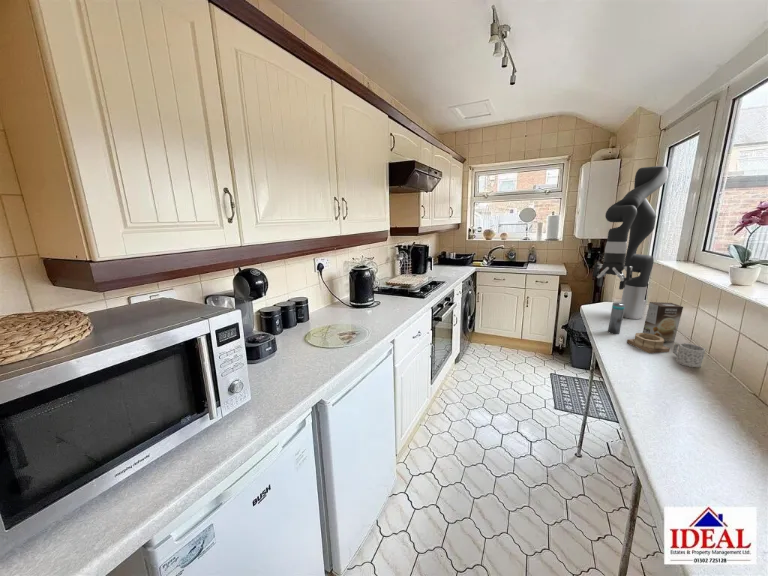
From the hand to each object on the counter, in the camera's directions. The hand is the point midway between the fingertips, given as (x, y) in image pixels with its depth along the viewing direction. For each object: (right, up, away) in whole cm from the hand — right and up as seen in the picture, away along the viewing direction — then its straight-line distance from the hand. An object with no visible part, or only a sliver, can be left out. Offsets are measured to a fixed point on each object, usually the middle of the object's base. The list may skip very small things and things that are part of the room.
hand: (610, 287), depth 135 cm
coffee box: (+19, -23, -3) cm, 30 cm away
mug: (+11, -28, -22) cm, 37 cm away
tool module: (+5, -21, +5) cm, 22 cm away
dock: (+7, -25, -11) cm, 28 cm away
